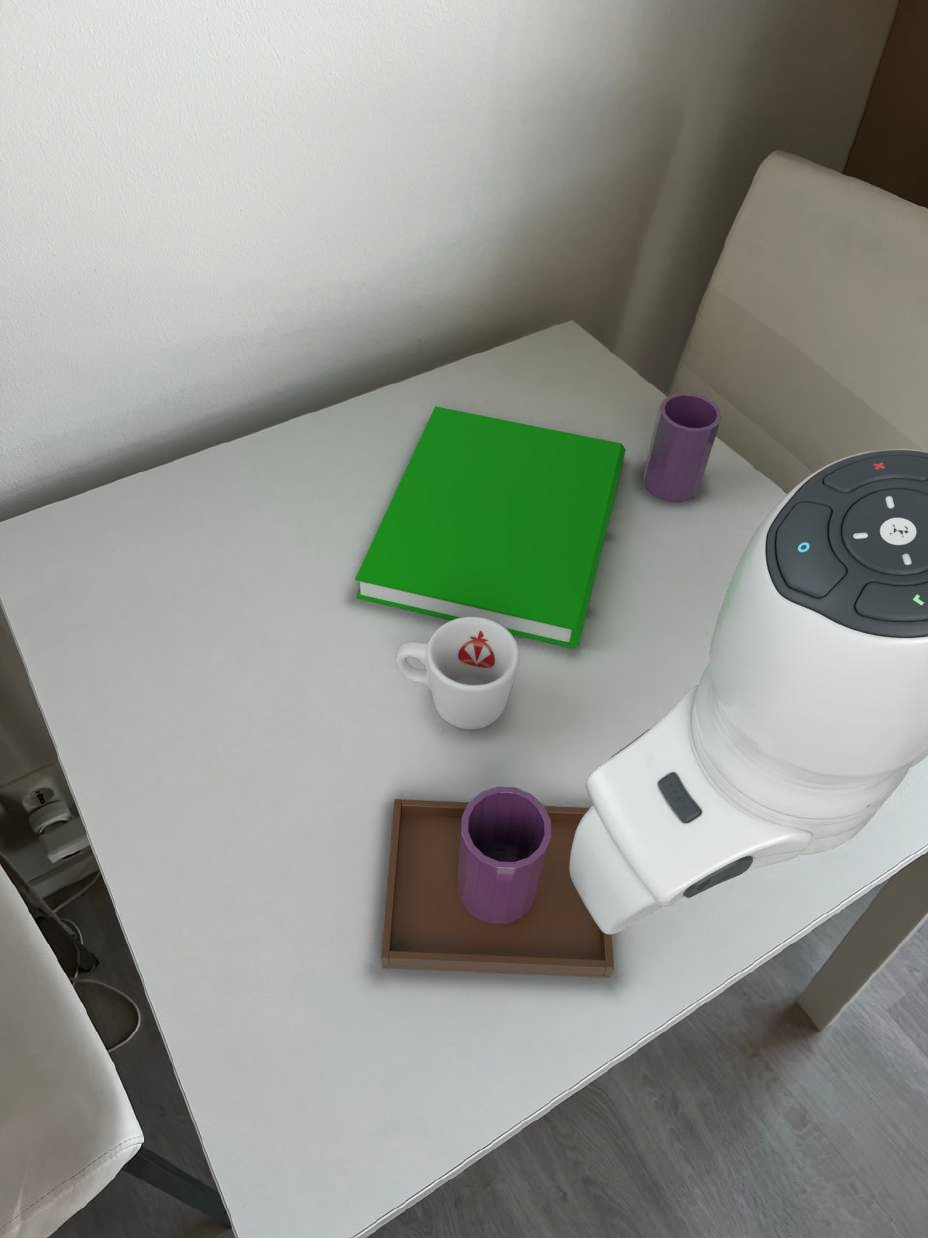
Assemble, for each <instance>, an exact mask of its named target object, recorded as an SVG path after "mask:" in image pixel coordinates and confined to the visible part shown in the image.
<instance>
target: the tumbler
mask: <svg viewBox="0 0 928 1238" xmlns="http://www.w3.org/2000/svg"><path fill="white" fill-rule="evenodd" d="M721 421H722V412H721V409H720V407H719V406H718V405H717V404H716V403H715V402H714V401H713V400H711V399H709V398H707V396H703V395H701V394H698V393H697V394H696V393H693V392H678V393H673V394H670V395H668V396H666V397H665V398H664V399H663V400H662V401H661V403H660V405H659V408H658V413H657V417H656V420H655V425H654V428H653V432H652V436H651V441H650V444H649V449H648V452H647V457H646V461H645V464H644V465H645V466H644V470H643V475H642V482H643V485H644V487H645V489H646V490H647V491H648V493H650V495H653V496H654V497H656V498H658V499H660V500H662V501H667V502H671V503H672V502H673V503H674V502H675V503H676V502H677V503H678V502H679V503H680V502H685V501H689V500H691V499H692V498H694V497H695V496H696V495H697V494H698V493H699V490H700V487H701V485H702V482H703V479H704V475H705V472H706V469H707V466H708V462H709V461H710V460H709V459H710V456H711V453H712V450H713V447H714V443H715V441H716V437H717V434H718V430H719V427H720V424H721Z"/></svg>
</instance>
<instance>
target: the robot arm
mask: <svg viewBox="0 0 928 1238" xmlns="http://www.w3.org/2000/svg"><path fill="white" fill-rule="evenodd" d="M711 636H712V637H711V640H710V645H709V653H708V654H709V659H708V660H709V661H708V663H707V665H706V667H705V668H704V671H703V672H702V674H701V677H700V679H699V681H698V684H695V685H694V686H693V687H691V688H690V689H689V690H688V691H687V692H686V693H685V694H684V695H683V696H682V697H681V698H680V699H679V700H678V701H677V702H676V704H675V705H673V707H671V709H670V710H669V711H668V712H667V713H665V715H663V717H661V719H659V720H658V721H657V722H656V723H655V724H654V725H653V726H652V727H650V728H649V729H647V730H646V731H644V732H643V733H642V734H641V735H639V736H637V737H636V738H635V739H634V740H632V741H631V742H630V743H628V744H627V745H625V746H624V747H623V748H621V749H620V750H619V751H617V752H616V753H613V754H612V756H610V757H609V759H607V760H605V761H604V762H603V763H601V764H599V765H598V766H597V767H595V768H594V769H593V770H592V771H591V772H590V773H589V775H588V776H587V779H586V780H585V790H586V792H587V795H588V797H589V799H590V802H591V804H592V806H591V807H589V808H590V809H589V810H588V811H587V812H586V814H585V815H584V816H583V818H582V819H581V821H580V823H579V824H578V827H577V829H576V832H575V836H574V840H573V844H572V849H571V855H570V876H571V879H572V881H573V883H574V886H575V888H576V889H577V891H578V893H579V895H580V897H581V899H582V901H583V902H584V904H585V906H586V908H587V909H588V911H589V913H590V914H591V916H592V917H593V919H594V921H595V922H596V924H597V925H598V927H599V928H600V929H601V930H602V932H604V933H605V934H612V935H615V934H618V933H620V932H622V931H624V930H626V929H628V928H630V927H631V926H632V925H634V924H635V923H637V922H639V921H640V920H643V919H644V918H646V917H647V916H649V915H651V914H653V913H655V912H657V911H658V910H660V909H662V908H668V907H672V906H674V905H676V904H678V903H680V902H682V901H684V900H686V899H691V898H693V897H695V896H697V895H699V894H701V893H703V892H705V891H707V890H709V889H711V888H713V887H715V886H717V885H719V884H722V883H724V882H727V881H728V880H731V879H733V878H736V877H739V876H741V875H742V874H744V873H745V872H746V873H747V872H749V871H753V870H755V869H756V870H757V869H759V868H764V867H767V866H772V865H776V864H780V863H784V862H787V861H789V860H792V859H795V858H797V857H799V856H808V855H816V854H819V853H825V852H827V851H830V850H833V849H835V848H838V847H839V846H842V845H844V844H845V843H847V842H849V841H850V840H852V839H853V838H854V837H856V836H857V835H858V834H859V833H860V832H861V831H862V830H863V829H864V828H865V827H866V826H867V824H869V822H870V820H872V818H873V817H874V816H875V815H876V813H877V812H878V811H879V810H880V809H881V808H882V807H883V805H884V804H885V803H886V802H887V801H888V799H889V798H890V797H891V796H892V795H893V793H894V792H895V791H896V789H897V788H898V787H899V786H900V785H901V783H902V782H903V781H904V779H905V777H906V776H907V775H908V772H909V771H910V769H911V768H913V767H915V766H917V765H918V764H919V763H920V762H922V761H923V760H924V759H925V758H927V757H928V450H921V449H911V448H891V449H889V448H888V449H880V450H879V449H878V450H869V451H868V450H867V451H865V452H859V453H855V454H852V455H849V456H846V457H843V458H840V459H838V460H834V461H833V462H831V463H829V464H827V465H825V466H823V467H821V468H819V469H818V470H816V471H814V472H813V473H811V474H810V475H808V476H807V477H805V478H804V479H803V480H802V481H800V482H799V483H798V484H797V485H795V487H793V488H792V489H790V491H788V493H787V494H785V495H784V496H783V497H782V498H781V499H780V501H778V503H777V504H776V505H775V506H774V507H773V508H772V509H771V510H769V512H768V513H767V515H766V516H765V518H764V519H763V520H762V522H761V523H759V526H758V527H757V528H756V529H755V531H754V533H753V535H752V536H751V538H750V539H749V542H748V543H747V545H746V547H745V549H744V550H743V553H742V555H741V557H740V559H739V561H738V563H737V565H736V567H735V570H734V572H733V573H732V577H731V579H730V582H729V584H728V587H727V589H726V592H725V595H724V597H723V601H722V603H721V606H720V609H719V612H718V615H717V618H716V621H715V625H714V627H713V632H712V635H711Z"/></svg>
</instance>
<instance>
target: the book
mask: <svg viewBox="0 0 928 1238" xmlns="http://www.w3.org/2000/svg"><path fill="white" fill-rule="evenodd" d="M625 454H626V448H625V446H624V445H623V443H622V442H617V441H612V440H606V439H602V438H598V437H592V436H586V435H581V434H577V433H571V432H566V431H562V430H557V429H551V428H546V427H542V426H537V425H532V424H527V423H522V422H516V421H511V420H508V419H507V420H506V419H501V418H496V417H492V416H491V417H490V416H486V415H482V414H476V413H471V412H468V411H467V412H466V411H462V410H457V409H451V408H447V407H443V406H442V407H441V406H437V405H435V406H434V408H433V410H432V411H431V414H430V417H429V418H428V421H427V423H426V425H425V427H424V429H423V431H422V434H421V436H420V438H419V439H418V442H417V445H416V447H415V449H414V451H413V453H412V455H411V457H410V460H409V462H408V464H407V466H406V468H405V470H404V473H403V475H402V477H401V479H400V481H399V483H398V485H397V488H396V490H395V491H394V494H393V496H392V498H391V501H390V502H389V504H388V506H387V509H386V511H385V513H384V515H383V518H382V519H381V521H380V524H379V525H378V528H377V530H376V532H375V535H374V537H373V539H372V541H371V543H370V545H369V547H368V550H367V551H366V554H365V555H364V556H365V557H364V558H363V561H362V563H361V565H360V568H359V569H358V571H357V573H356V575H355V579H354V580H355V581H357V582H359V590H358V592H357V595H356V599H358V600H362V601H366V602H371V603H375V604H379V605H383V606H388V607H393V608H397V609H402V610H406V611H409V612H414V613H419V614H421V615H422V614H423V615H427V616H432V617H435V618H440V619H445V620H449V621H451V620H454V619H458V618H463V617H481V618H486V619H489V620H492V621H494V622H496V623H498V624H500V625H502V626H503V627H504V628H506V629H507V630H508V631H509V632H510V633H511V634H512V636H516V637H517V636H519V637H522V638H526V639H531V640H535V641H540V642H542V643H543V642H544V643H549V644H552V645H557V646H561V647H566V648H569V649H573V648H575V647H577V646H579V645H580V641H581V638H582V634H583V630H584V625H585V621H586V617H587V612H588V609H589V604H590V601H591V596H592V591H593V588H594V585H595V579H596V575H597V571H598V567H599V564H600V563H599V562H600V558H601V554H602V549H603V546H604V542H605V538H606V534H607V530H608V526H609V522H610V518H611V514H612V509H613V505H614V501H615V496H616V492H617V489H618V484H619V480H620V477H621V472H622V469H623V468H622V467H623V463H624V459H625Z"/></svg>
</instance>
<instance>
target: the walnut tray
mask: <svg viewBox="0 0 928 1238" xmlns="http://www.w3.org/2000/svg"><path fill="white" fill-rule="evenodd" d="M393 800H394V801H393V813H392V821H391V822H392V823H391V837H390V845H389V860H388V871H387V883H386V892H385V893H386V895H385V904H384V905H385V906H384V919H383V930H382V942H381V952H380V963H381V964H380V965H381V968H382V969H401V970H402V969H404V970H422V971H423V970H424V971H426V970H427V971H449V972H472V973H490V974H491V973H493V974H516V975H517V974H518V975H536V976H537V975H540V976H541V975H542V976H565V977H586V978H606V979H607V978H611V975H612V973H613V970H615V962H614V950H613V949H614V948H613V937H612V935H613V934H605V933H604V932H602V930H601V929H600V928H599V927H598V925H597V924H596V922H595V921H594V919H593V917H592V916H591V914H590V913H589V911H588V909H587V908H586V906H585V904H584V902H583V901H582V899H581V897H580V895H579V893H578V891H577V889H576V888H575V886H574V883H573V881H572V879H571V876H570V855H571V849H572V844H573V840H574V836H575V832H576V829H577V827H578V824H579V823H580V821H581V819H582V818H583V816H584V815H585V814H586V812H587V811H588V810H589V809H590V808H591V807H577V806H558V805H557V806H556V805H555V806H554V805H543V806H544V807H545V809H546V811H547V813H548V816H549V818H550V820H551V840H550V844H549V849H548V853H547V857H546V861H545V865H544V869H543V874H542V878H541V882H540V886H539V890H538V893H537V896H536V899H535V902H534V904H533V906H532V907H531V909H530V910H529V911H528V912H527V914H525V915H524V916H523V917H522V918H520V919H518V920H517V921H514V922H512V923H508V924H500V925H496V924H489V923H486V922H483V921H480V920H479V919H477V918H475V917H474V916H472V915H471V914H470V913H469V912H468V911H467V910H466V909H465V908H464V906H463V904H462V903H461V901H460V899H459V896H458V892H457V871H458V859H459V846H460V834H461V821H462V815H463V813H464V811H465V809H466V807H467V805H468V803H469V802H470V801H449V800H448V801H445V800H423V799H406V798H405V799H401V798H395V799H393Z"/></svg>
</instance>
